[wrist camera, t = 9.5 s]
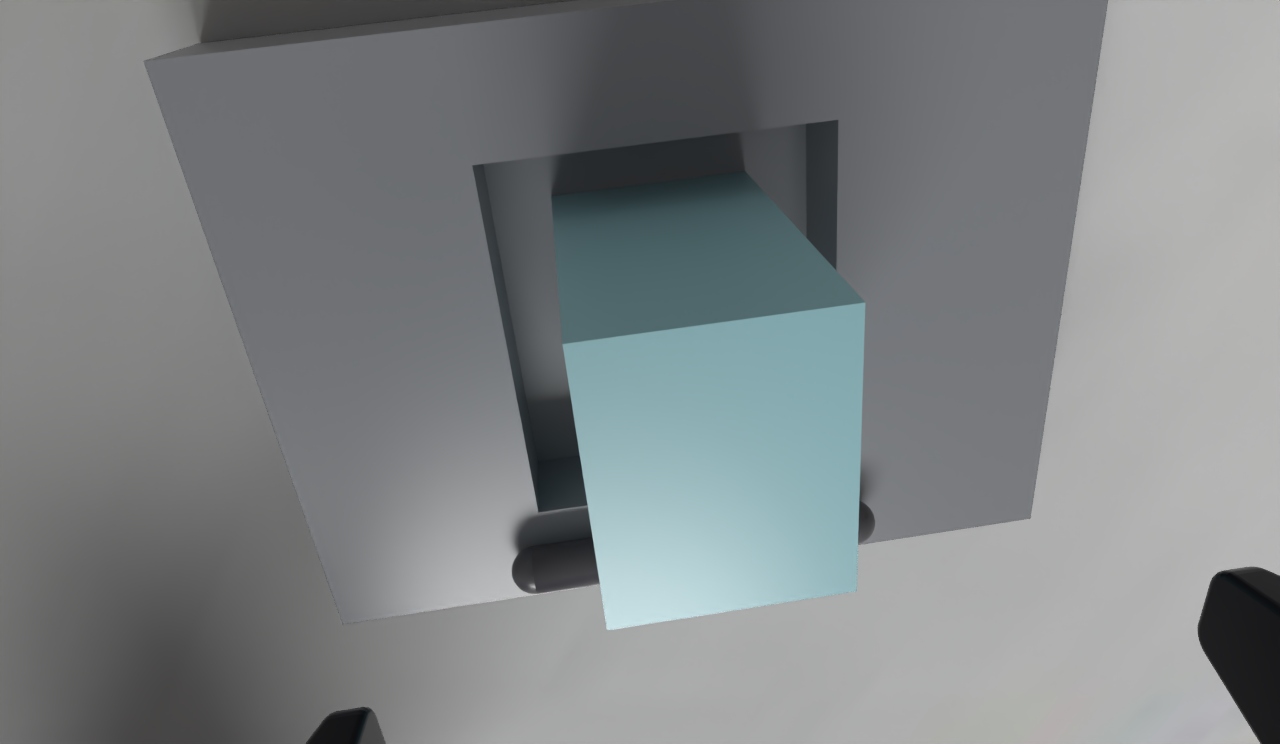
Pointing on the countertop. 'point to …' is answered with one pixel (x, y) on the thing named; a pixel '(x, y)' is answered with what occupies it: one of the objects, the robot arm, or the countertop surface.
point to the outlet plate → (612, 158)
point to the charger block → (709, 398)
